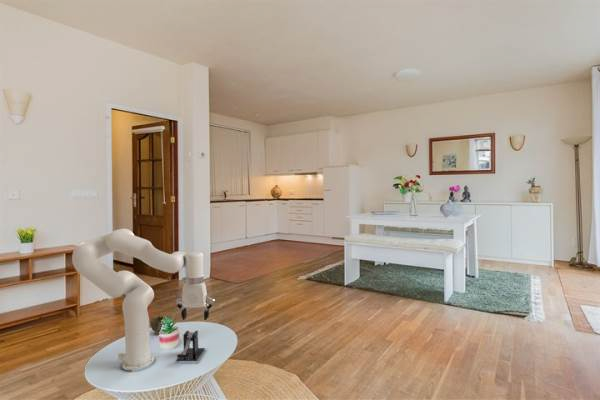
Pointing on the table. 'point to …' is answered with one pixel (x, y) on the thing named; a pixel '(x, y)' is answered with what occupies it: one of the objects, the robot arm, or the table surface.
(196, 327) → the table surface
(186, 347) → the lever
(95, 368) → the table surface
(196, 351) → the bracket
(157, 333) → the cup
